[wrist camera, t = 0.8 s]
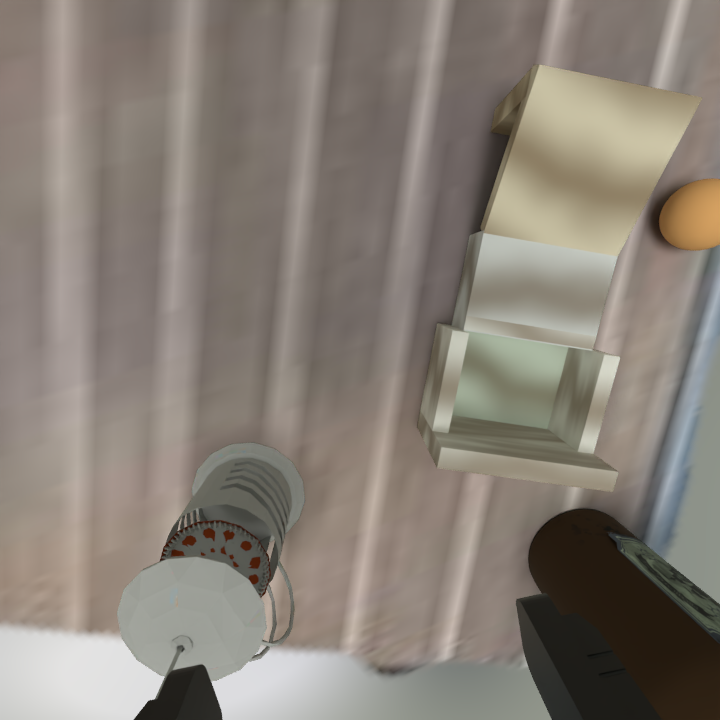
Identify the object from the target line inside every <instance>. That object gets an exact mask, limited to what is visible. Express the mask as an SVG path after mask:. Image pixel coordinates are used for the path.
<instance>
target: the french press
mask: <svg viewBox="0 0 720 720" xmlns="http://www.w3.org/2000/svg"><path fill="white" fill-rule="evenodd" d="M192 495H193V498H192V500H191V501H190V503H189V504H188V506H187V507H186V508H185V510H184V511H183V513H182V514H181V516H180V517H179V519H178V520H177V522H176V523H175V524H174V526H173V528H172V530H171V532H170V534H169V536H168V538H167V542H166V545H165V546H164V548H163V552H162V555H161V559H160V562H158V563H156V564H153V565H151V566H149V567H147V568H144V569H143V570H142V571H141V572H140V573H139V574H138V575H137V576H136V577H135V578H134V579H133V580H132V582H131V583H130V584H129V585H128V586H127V587H126V588H125V589H124V591H123V594H122V598H121V601H120V605H119V608H118V612H117V616H118V622H119V627H120V632H121V637H122V640H123V641H124V642H125V644H126V645H127V647H128V648H129V649H130V651H131V652H132V654H133V655H134V656H135V658H136V659H137V660H138V661H139V662H141V663H142V664H144V665H145V666H147V667H149V668H150V669H152V670H153V671H154V672H156V673H158V674H159V675H161V676H165V678H164V681H163V683H162V685H161V687H160V689H159V692H158V694H157V696H156V698H155V699H157V698H158V695H159V693H160V691H161V689H162V686H163V684H164V682H165V680H166V678H167V676H168V674H169V673H170V672H171V671H172V670H176V669H180V668H185V667H190V666H195V665H200V664H203V665H204V666H205V667H206V669H207V672H208V675H209V677H210V680H211V681H216V680H219V679H221V678H223V677H225V676H227V675H230V674H232V673H234V672H236V671H238V670H240V669H242V668H243V666H244V665H245V664H246V663H247V662H248V661H254V660H257V659H260V658H262V657H263V656H264V655H265V654H266V653H267V652H268V650H269V648H270V647H273V646H277V645H280V644H282V643H283V642H284V640H285V639H286V638H287V637H288V636H289V634H290V632H291V629H292V625H293V618H294V611H295V609H294V601H293V592H292V587H291V584H290V581H289V579H288V576H287V574H286V572H285V570H284V568H283V566H282V564H281V563H280V561H279V559H280V555H281V551H282V546H283V542H284V538H285V534H286V533H287V532H288V531H289V530H290V529H291V527H292V526H293V525H294V524H295V523H296V522H297V521H298V520H299V517H300V514H301V511H302V508H303V505H304V502H305V496H304V487H303V480H302V478H301V477H300V475H299V473H298V471H297V470H296V468H295V466H294V464H293V463H292V462H291V461H290V460H289V459H287V458H286V457H285V456H283V455H282V454H281V453H280V452H278V451H277V450H276V449H273V448H270V447H267V446H263V445H260V444H257V443H241V444H230V445H228V446H226V447H224V448H222V449H220V450H218V451H216V452H214V453H212V454H211V455H210V456H209V457H208V458H207V459H206V460H205V462H204V463H203V464H202V465H201V466H200V467H199V469H198V470H197V473H196V476H195V480H194V483H193V487H192ZM190 512H193V524H191V522H190ZM196 512H197V514H198V515H199V520H200V522H197V519H196ZM186 514H187V527H185V528H184V519H185V515H186ZM181 518H182V521H181V525H180V530H179V531H177V530H178V525H179V521H180V519H181ZM273 540H275V544H274V548H273V552H272V555H271V559H270V562H269V556H268V554H267V553H266V552H267V549H268V545H269V542H271V541H273ZM277 566H278V567H279V569H280V571H281V572H282V574H283V576H284V579H285V581H286V584H287V586H288V589H289V594H290V599H291V614H290V623H289V628H288V629H287V631H286V633H285V634H284V635H283V636H282V637H281V638H280V639H279V640H276V641H273V637H274V633H275V629H276V625H277V622H276V612H275V601H274V598H273V594H272V591H271V588H270V585H269V583H270V582H271V581H272V579H273V577H274V574H275V571H276V569H277ZM266 589H267V590H268V593H269V595H270V598H271V600H272V611H273V627H272V631H271V635H270V639H269V642H267V641H265V640H262V639H263V637H264V634H265V631H266V628H267V626H266V617H265V609H264V603H263V601H262V599H261V597H262V596H263V595H264V594H265V592H266ZM260 645H264V646H266V648H265V649H264V650H263V651H262V652H261V653H260V654H257V655H255V654H256V653H257V652H258V650H259V647H260Z"/></svg>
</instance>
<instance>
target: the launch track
mask: <svg viewBox="0 0 720 720" xmlns="http://www.w3.org/2000/svg"><path fill="white" fill-rule="evenodd" d="M701 100H702V97H697V96H692V95H687V94H682V93H677V92H672V91H667V90H662V89H657V88H652V87H647V86H642V85H637V84H633V83H628V82H623V81H618V80H613V79H608V78H603V77H598V76H593V75H588V74H583V73H578V72H573V71H569V70H564V69H559V68H554V67H549V66H544V65H533V67H532V68H531V69H530V70H529V71H528V73H527V74H526V75H525V76H524V77H523V78H522V79H521V81H520V82H519V83H518V84H517V85H516V86H515V87H514V88H513V90H512V91H511V92H510V93H509V94H508V95H507V96H506V97H505V99H504V100H503V101H502V102H501V103H500V104H499V105H498V106H497V108H496V109H495V113H494V118H493V123H492V128H491V132H494V133H499V134H504V135H509V136H510V138H509V141H508V144H507V147H506V150H505V153H504V156H503V159H502V162H501V165H500V169H499V172H498V175H497V178H496V181H495V184H494V187H493V190H492V193H491V196H490V199H489V202H488V205H487V208H486V211H485V215H484V218H483V221H482V224H481V227H480V228H481V230H482V231H480V232H477V233H475V234H472V235H470V237H469V241H468V246H467V251H466V256H465V261H464V266H463V271H462V276H461V281H460V286H459V291H458V296H457V301H456V306H455V311H454V316H453V321H452V325H447V324H441V323H437V327H436V332H435V337H434V342H433V347H432V353H431V358H430V363H429V368H428V373H427V378H426V383H425V388H424V394H423V399H422V404H421V409H420V414H419V419H418V424H417V428H418V430H419V432H420V434H421V436H422V438H423V440H424V442H425V444H426V446H427V448H428V450H429V452H430V454H431V456H432V458H433V460H434V463H435V465H436V467H437V468H441V469H448V470H455V471H463V472H470V473H477V474H485V475H492V476H499V477H507V478H514V479H521V480H529V481H536V482H543V483H551V484H558V485H565V486H572V487H580V488H587V489H594V490H602V491H609V492H613V490H614V486H615V483H616V479H617V476H618V473H619V472H618V471H617V470H615V469H614V468H612V467H611V466H610V465H608V464H607V463H605V462H604V461H603V460H601V459H600V458H598V457H597V456H595V455H594V454H593V453H594V449H595V445H596V442H597V438H598V435H599V431H600V428H601V424H602V421H603V417H604V413H605V410H606V406H607V403H608V399H609V396H610V392H611V389H612V385H613V381H614V378H615V374H616V371H617V367H618V364H619V360H620V357H619V356H615V355H612V354H608V353H605V352H601V351H598V350H594V349H593V347H594V343H595V340H596V336H597V332H598V328H599V324H600V321H601V317H602V313H603V310H604V306H605V302H606V298H607V295H608V291H609V287H610V283H611V280H612V276H613V272H614V268H615V265H616V261H617V257H618V255H619V253H620V251H621V249H622V247H623V246H624V244H625V242H626V240H627V238H628V236H629V234H630V233H631V231H632V229H633V227H634V225H635V223H636V221H637V219H638V218H639V216H640V214H641V212H642V210H643V208H644V206H645V204H646V203H647V201H648V199H649V197H650V195H651V193H652V191H653V190H654V188H655V186H656V184H657V182H658V180H659V178H660V176H661V175H662V173H663V171H664V169H665V167H666V165H667V163H668V161H669V160H670V158H671V156H672V154H673V152H674V150H675V148H676V147H677V145H678V143H679V141H680V139H681V137H682V135H683V133H684V132H685V130H686V128H687V126H688V124H689V122H690V120H691V118H692V117H693V115H694V113H695V111H696V109H697V107H698V105H699V104H700V102H701Z"/></svg>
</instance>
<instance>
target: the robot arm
mask: <svg viewBox="0 0 720 720" xmlns="http://www.w3.org/2000/svg"><path fill="white" fill-rule="evenodd" d="M516 606H517V612H518V619H519V625H520V631H521V637H522V644H523V649H524V654H525V657H526V661H527V664H528V667H529V670H530V672H531V675H532V677H533V680H534V682H535V684H536V686H537V688H538V690H539V693H540V695H541V697H542V699H543V701H544V703H545V706H546V708H547V710H548V712H549V714H550V716H551V718H552V720H662V719H661V718H660V716H659V715H658V713H657V712H656V711H655V709H654V708H653V706H652V705H651V703H650V702H649V701H648V699H647V698H646V696H645V695H644V694H643V692H642V691H641V689H640V688H639V687H638V685H637V684H636V682H635V681H634V679H633V678H632V677H631V675H630V674H629V673H627V671H626V668H625V667H624V665H623V664H622V663H621V661H620V660H619V658H618V657H617V655H616V654H614V653H613V650H612V648H611V647H610V646H609V644H608V643H607V641H606V640H605V639H604V637H603V636H602V634H601V633H600V631H599V630H598V629H597V628H596V627H595V626H593V625H592V624H591V623H589V622H588V621H587V620H585V619H584V618H583V617H582V616H580V615H579V614H578V613H572V614H567V615H562V616H561V614H560V613H559V611H558V609H557V608H556V606H555V605H554V603H553V601H552V600H551V598H550V597H549V596H548V595H547V594H546V593H543V594H539V595H534V596H529V597H524V598H520V599H517V600H516ZM134 720H222V713H221V709H220V706H219V703H218V700H217V697H216V694H215V692H214V689H213V686H212V683H211V680H210V677H209V675H208V672H207V669H206V667H205V666H204V665H203V664H200V665H195V666H190V667H185V668H180V669H176V670H172V671H171V672H170V673H169V674H168V676H167V678H166V680H165V682H164V684H163V686H162V689H161V691H160V693H159V695H158V698H157V699H155V700H150V701H148V702H147V703H146V705H145V706H144V707H143V709H142V710H141V711H140V712H139V714H138V715H137V716H136V718H135V719H134Z"/></svg>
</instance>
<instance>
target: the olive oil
mask: <svg viewBox="0 0 720 720" xmlns="http://www.w3.org/2000/svg"><path fill="white" fill-rule="evenodd" d="M529 567H530V571H531V574H532V577H533V579H534V581H535V583H536V584H537V586H538V588H539V590H540V591H541V593H542V594H543V593H546V594H547V595H548V596H549V597H550V598H551V600H552V601H553V603H554V605H555V606H556V608H557V609H558V611H559V613H560V614H561V616H562V615H567V614H572V613H578V614H579V615H580V616H582V617H583V618H584V619H585V620H587V621H588V622H589V623H591V624H592V625H593V626H595V627H596V628H597V629H598V630H599V631H600V633H601V634H602V636H603V637H604V639H605V640H606V641H607V643H608V644H609V646H610V647H611V648H612V650H613V653H614V654H616V655H617V657H618V658H619V660H620V661H621V663H622V664H623V665H624V667H625V668H626V671H627V673H629V674H630V675H631V677H632V678H633V679H634V681H635V682H636V684H637V685H638V687H639V688H640V689H641V691H642V692H643V694H644V695H645V696H646V698H647V699H648V701H649V702H650V703H651V705H652V706H653V708H654V709H655V711H656V712H657V713H658V715H659V716H660V718H661V719H662V720H720V604H719V603H717V602H716V601H715V600H714V599H712V598H711V597H710V596H709V595H707V594H706V593H705V592H704V591H702V590H701V589H700V588H699V587H697V586H696V585H695V584H694V583H692V582H691V581H690V580H689V579H687V578H686V577H685V576H684V575H682V574H681V573H680V572H679V571H677V570H676V569H675V568H674V567H672V566H671V565H670V564H669V563H667V562H666V561H665V560H664V559H662V558H661V557H660V556H659V555H658V554H656V553H655V552H654V551H653V550H651V549H650V548H649V547H648V546H647V545H645V544H644V543H643V542H642V541H640V540H639V539H638V538H637V537H635V536H634V535H633V534H632V533H631V532H630V531H628V530H627V529H626V528H625V527H624V526H622V525H621V524H620V523H619V522H617V521H616V520H615V519H614V518H612V517H610V516H609V515H607V514H605V513H602V512H599V511H595V510H588V509H582V510H574V511H570V512H566V513H564V514H561V515H559V516H557V517H555V518H554V519H552V520H551V521H549V522H548V523H547V524H546V525H545V526H544V527H543V528H542V529H541V530H540V531H539V533H538V534H537V535H536V537H535V539H534V541H533V543H532V545H531V548H530V553H529Z"/></svg>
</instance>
